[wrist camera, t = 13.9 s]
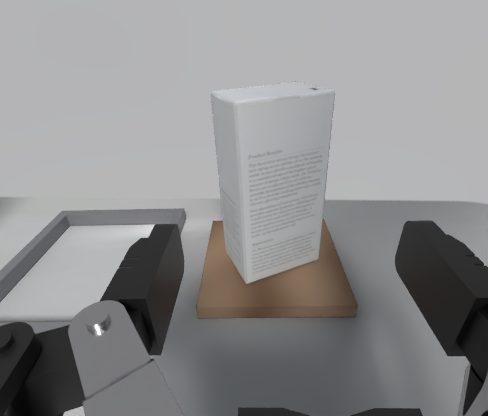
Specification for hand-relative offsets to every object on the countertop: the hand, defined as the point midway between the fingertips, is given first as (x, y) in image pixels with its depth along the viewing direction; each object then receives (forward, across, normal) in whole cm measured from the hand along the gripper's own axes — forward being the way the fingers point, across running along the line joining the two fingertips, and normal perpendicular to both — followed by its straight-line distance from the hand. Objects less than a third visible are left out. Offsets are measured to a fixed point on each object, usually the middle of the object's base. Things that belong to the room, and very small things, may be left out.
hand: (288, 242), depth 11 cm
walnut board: (+9, 0, +9) cm, 13 cm away
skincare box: (+9, 0, +8) cm, 13 cm away
